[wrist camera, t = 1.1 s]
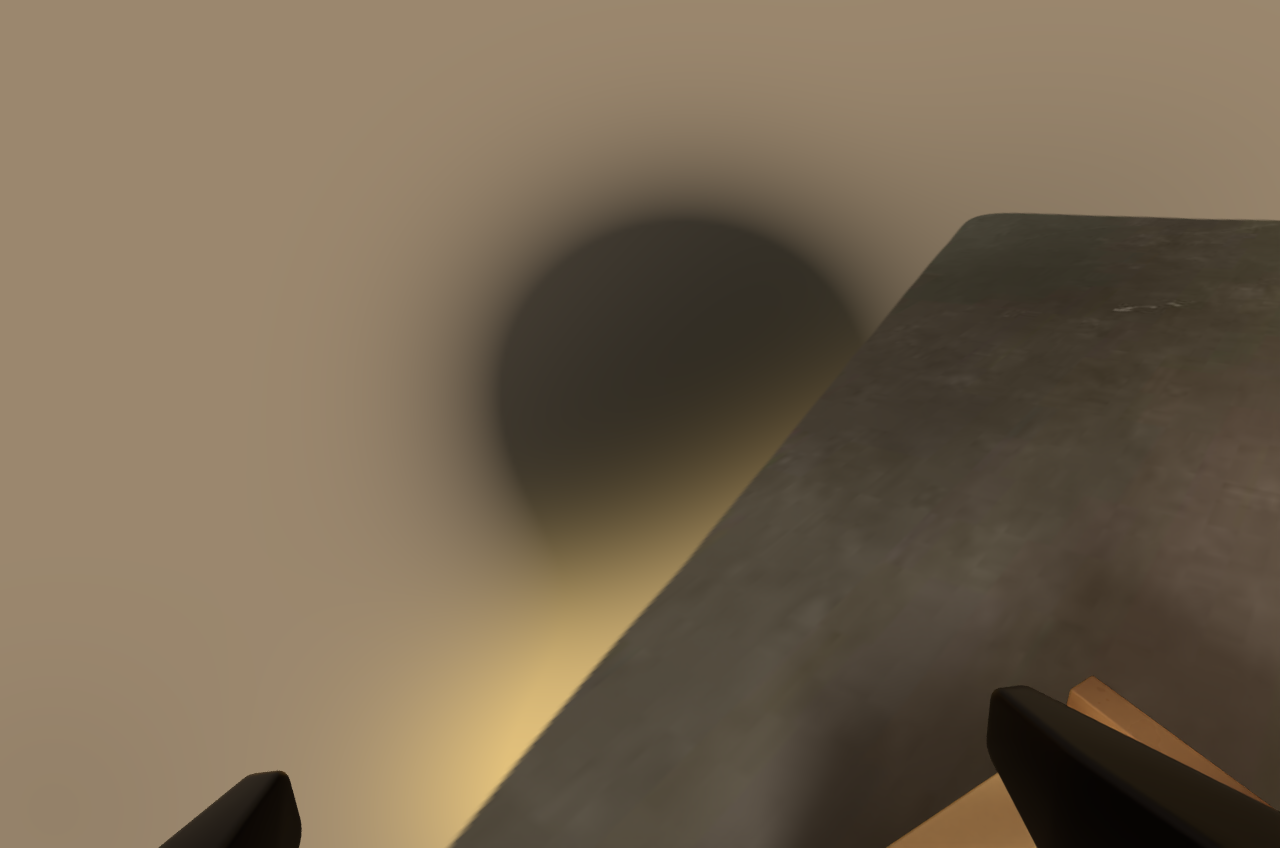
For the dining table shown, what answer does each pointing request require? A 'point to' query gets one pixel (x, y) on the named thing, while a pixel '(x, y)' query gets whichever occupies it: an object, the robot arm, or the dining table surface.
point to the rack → (986, 816)
